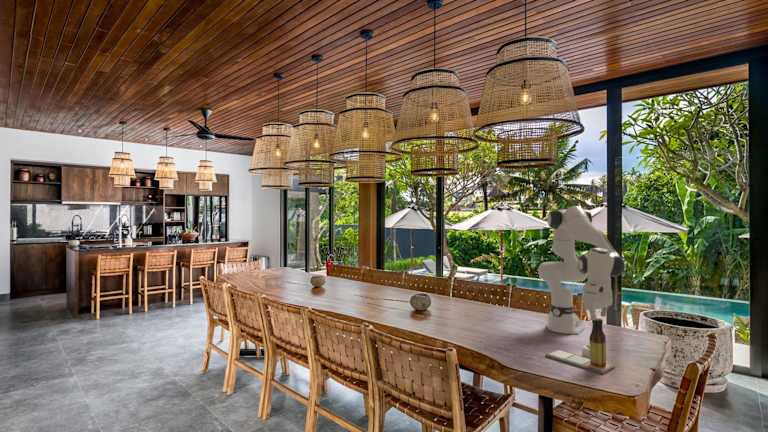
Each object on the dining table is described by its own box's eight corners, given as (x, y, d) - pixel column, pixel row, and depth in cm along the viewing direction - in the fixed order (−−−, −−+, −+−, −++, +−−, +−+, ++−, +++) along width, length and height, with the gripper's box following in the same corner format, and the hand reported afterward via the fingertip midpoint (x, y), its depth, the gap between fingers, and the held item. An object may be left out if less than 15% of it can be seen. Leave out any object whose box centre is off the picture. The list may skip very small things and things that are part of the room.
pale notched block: (586, 355, 182) (586, 344, 182) (596, 357, 179) (596, 347, 179) (581, 357, 180) (582, 346, 180) (591, 360, 176) (592, 349, 176)
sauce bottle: (600, 362, 170) (601, 317, 170) (609, 367, 164) (610, 321, 164) (586, 362, 170) (586, 317, 170) (594, 367, 164) (595, 321, 164)
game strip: (558, 351, 187) (558, 348, 186) (614, 368, 167) (614, 365, 167) (545, 356, 179) (545, 354, 179) (602, 374, 159) (602, 371, 159)
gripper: (601, 282, 175) (601, 312, 176) (580, 287, 163) (580, 320, 163) (617, 284, 170) (616, 315, 171) (596, 289, 158) (595, 323, 158)
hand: (598, 318), depth 167 cm, fingers open, 8 cm apart
